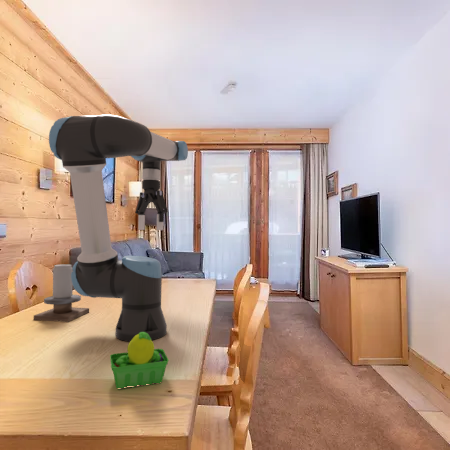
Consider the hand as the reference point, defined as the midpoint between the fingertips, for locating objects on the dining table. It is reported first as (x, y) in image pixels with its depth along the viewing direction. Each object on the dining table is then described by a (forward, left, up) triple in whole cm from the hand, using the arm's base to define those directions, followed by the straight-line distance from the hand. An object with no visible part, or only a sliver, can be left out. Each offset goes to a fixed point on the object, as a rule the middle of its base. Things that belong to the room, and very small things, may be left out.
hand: (150, 230), depth 140 cm
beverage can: (-24, +24, -25) cm, 42 cm away
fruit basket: (-68, -24, -32) cm, 79 cm away
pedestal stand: (-24, +24, -31) cm, 46 cm away
